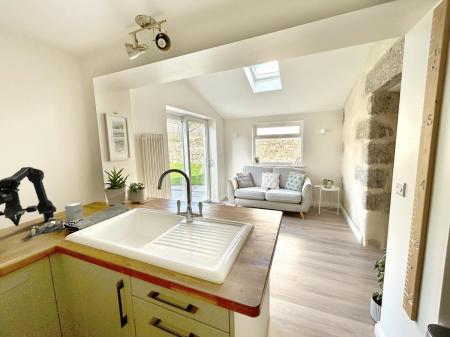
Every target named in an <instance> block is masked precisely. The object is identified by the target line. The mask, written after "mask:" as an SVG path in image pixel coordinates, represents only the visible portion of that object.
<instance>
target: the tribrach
mask: <svg viewBox="0 0 450 337" xmlns="http://www.w3.org/2000/svg"><path fill="white" fill-rule="evenodd" d="M57 230H59V231H60V230H68V228H65V227H64V228H63V226H61V223H60V222H59V221H50V222H44V226H42V227H41V228H39V231H38V232H36V233H35V234H33V235H32V233H30V232H28V233H27V236H29V237H32V238H33V237H36V236H39V235H42V234H46V233H50V232H55V231H57Z"/></svg>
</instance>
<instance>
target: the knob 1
mask: <svg viewBox="0 0 450 337" xmlns="http://www.w3.org/2000/svg"><path fill="white" fill-rule="evenodd" d="M39 229H40V227H39V225H33V226H31V227H30V228H29V233H32V235H33V234H35V233H36V232H38V231H39Z"/></svg>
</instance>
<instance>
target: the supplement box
mask: <svg viewBox="0 0 450 337" xmlns="http://www.w3.org/2000/svg"><path fill="white" fill-rule="evenodd" d="M83 210H84V209H83V204H82V202H73V203H70V204H67V205H65V206H64V211H65V218H66V220H68V222H70V221H73V220H77V219H81V218H83V217H84V211H83ZM84 218H85V217H84Z"/></svg>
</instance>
